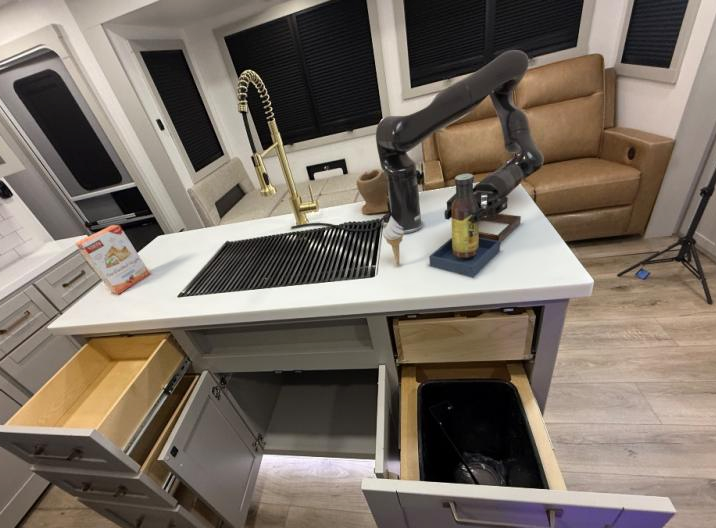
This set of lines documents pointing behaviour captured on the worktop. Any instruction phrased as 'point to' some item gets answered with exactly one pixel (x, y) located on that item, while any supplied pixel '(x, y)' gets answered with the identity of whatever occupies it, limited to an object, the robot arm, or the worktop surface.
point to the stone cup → (373, 191)
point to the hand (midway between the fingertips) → (459, 217)
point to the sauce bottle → (464, 218)
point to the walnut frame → (507, 219)
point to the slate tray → (465, 266)
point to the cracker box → (113, 258)
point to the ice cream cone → (394, 237)
